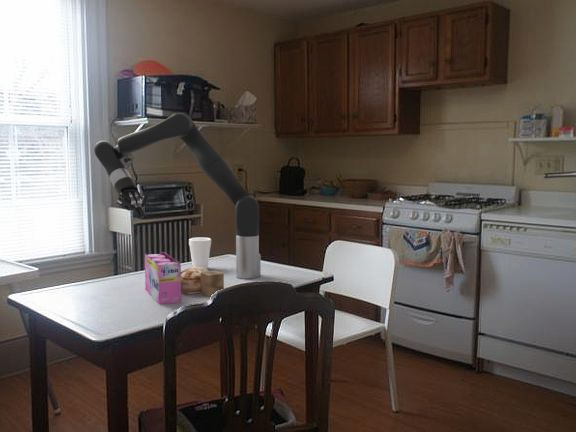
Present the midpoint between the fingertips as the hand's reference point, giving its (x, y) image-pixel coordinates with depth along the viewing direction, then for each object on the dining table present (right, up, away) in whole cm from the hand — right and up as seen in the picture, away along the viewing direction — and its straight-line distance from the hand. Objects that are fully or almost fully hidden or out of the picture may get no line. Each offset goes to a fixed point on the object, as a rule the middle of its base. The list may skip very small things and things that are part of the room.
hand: (142, 217), depth 201 cm
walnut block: (+27, -28, -7) cm, 40 cm away
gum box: (+10, -28, -8) cm, 31 cm away
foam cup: (+16, -23, +36) cm, 46 cm away
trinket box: (+20, -27, +1) cm, 34 cm away
